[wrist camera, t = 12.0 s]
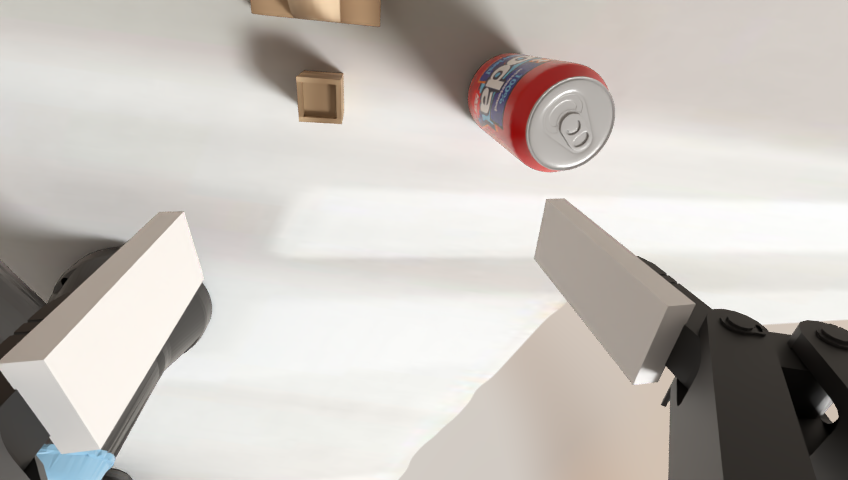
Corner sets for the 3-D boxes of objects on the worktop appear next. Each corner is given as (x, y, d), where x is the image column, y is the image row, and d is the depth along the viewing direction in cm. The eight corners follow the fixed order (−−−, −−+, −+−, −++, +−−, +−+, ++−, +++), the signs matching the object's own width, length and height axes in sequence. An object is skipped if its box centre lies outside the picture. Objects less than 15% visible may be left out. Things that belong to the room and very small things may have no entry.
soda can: (493, 147, 42) (553, 200, 29) (450, 92, 38) (496, 124, 25) (551, 96, 40) (642, 129, 27) (511, 33, 36) (594, 36, 23)
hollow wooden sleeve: (306, 110, 37) (299, 121, 32) (304, 70, 35) (295, 76, 31) (343, 112, 38) (341, 123, 33) (343, 73, 36) (340, 79, 31)
